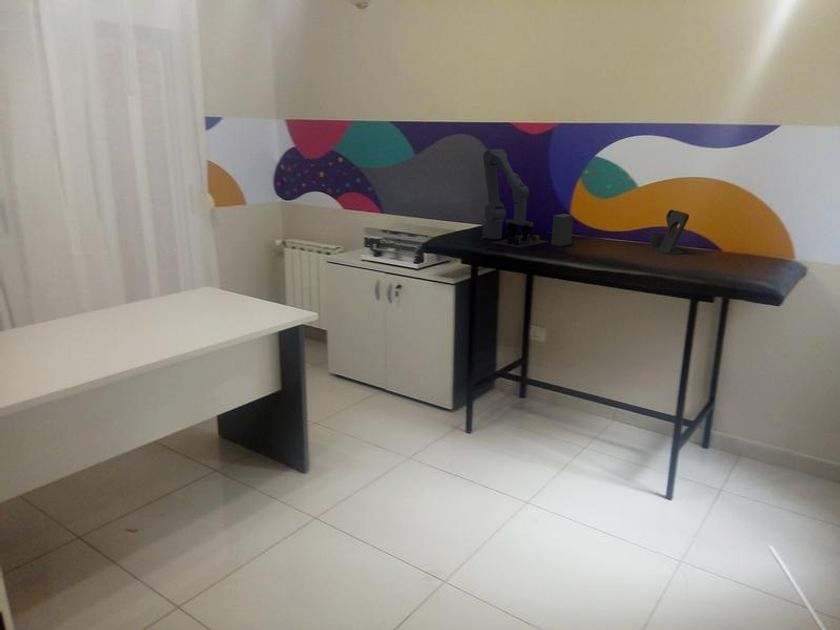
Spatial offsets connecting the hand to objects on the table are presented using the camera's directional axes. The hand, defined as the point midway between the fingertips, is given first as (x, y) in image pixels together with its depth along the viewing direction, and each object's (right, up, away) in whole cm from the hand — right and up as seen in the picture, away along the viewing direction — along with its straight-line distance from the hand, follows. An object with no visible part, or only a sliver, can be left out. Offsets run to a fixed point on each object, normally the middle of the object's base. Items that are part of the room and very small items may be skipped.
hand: (518, 240), depth 295 cm
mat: (+1, -1, +2) cm, 3 cm away
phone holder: (+67, -7, -12) cm, 68 cm away
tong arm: (+1, -2, -2) cm, 3 cm away
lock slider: (+9, 0, +6) cm, 11 cm away
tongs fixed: (0, -1, 0) cm, 1 cm away
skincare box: (+20, -3, -3) cm, 20 cm away
